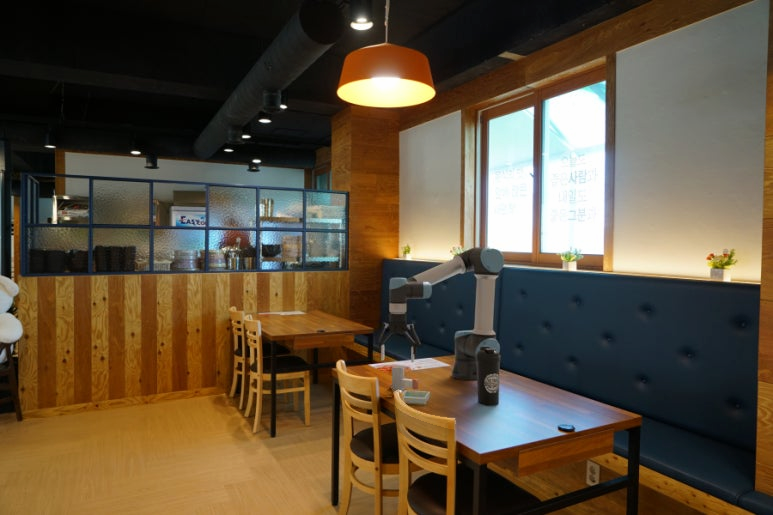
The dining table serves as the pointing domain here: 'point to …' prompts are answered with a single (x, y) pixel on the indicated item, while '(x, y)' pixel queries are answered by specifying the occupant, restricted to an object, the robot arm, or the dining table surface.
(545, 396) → the dining table surface
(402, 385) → the white upright block
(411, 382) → the crank
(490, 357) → the water bottle
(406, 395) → the tray
